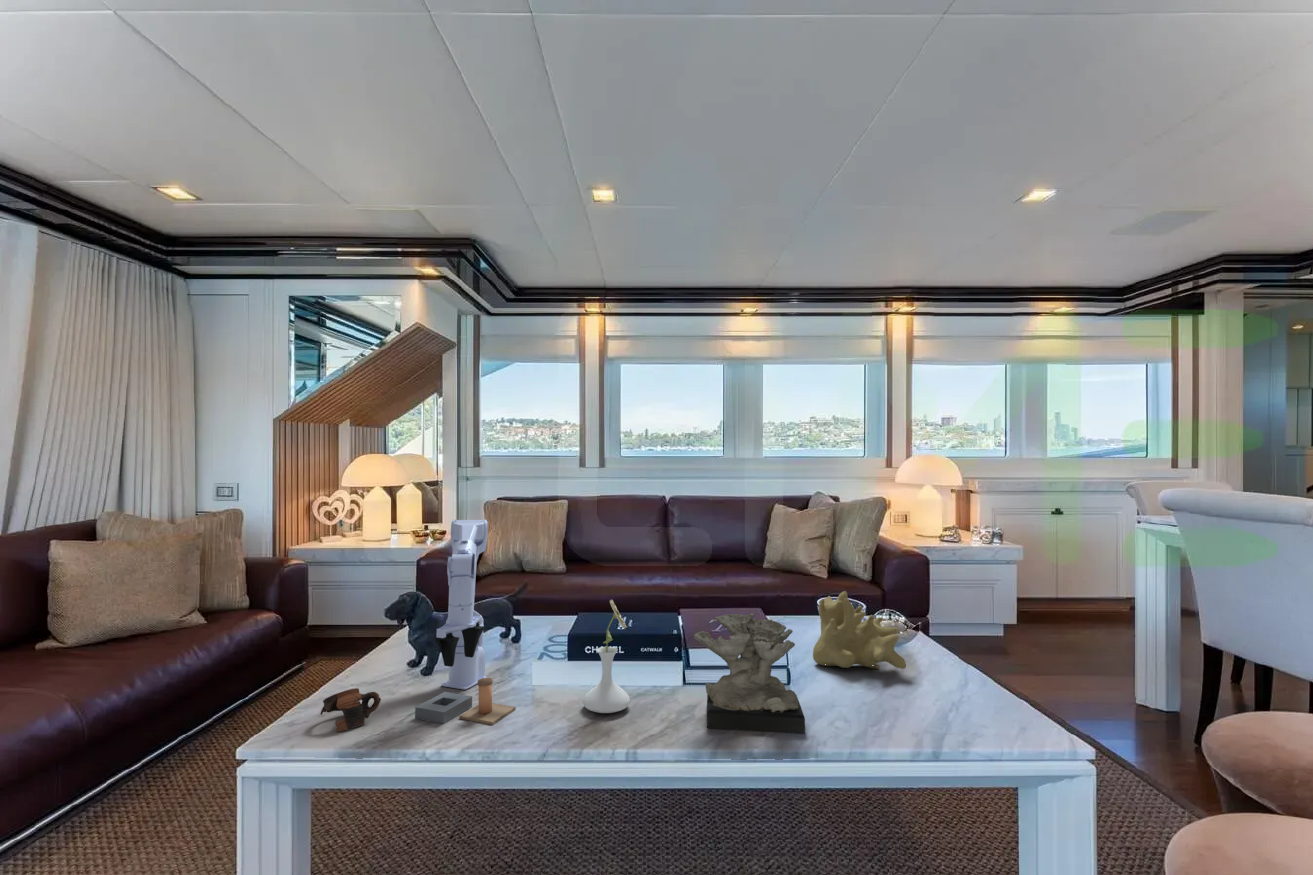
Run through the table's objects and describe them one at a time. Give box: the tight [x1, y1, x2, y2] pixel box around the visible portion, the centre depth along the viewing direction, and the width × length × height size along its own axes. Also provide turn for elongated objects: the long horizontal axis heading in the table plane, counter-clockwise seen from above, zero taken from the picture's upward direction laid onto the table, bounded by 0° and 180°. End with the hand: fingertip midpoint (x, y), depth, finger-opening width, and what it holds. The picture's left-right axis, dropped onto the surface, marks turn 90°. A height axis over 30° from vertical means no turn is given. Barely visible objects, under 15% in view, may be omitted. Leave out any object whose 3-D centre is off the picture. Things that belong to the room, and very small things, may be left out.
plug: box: [477, 677, 494, 714], centre depth 138 cm, size 3×3×7 cm
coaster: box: [458, 702, 517, 725], centre depth 137 cm, size 9×9×1 cm
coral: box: [693, 613, 806, 735], centre depth 141 cm, size 25×20×22 cm
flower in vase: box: [582, 599, 631, 714], centre depth 143 cm, size 13×11×25 cm
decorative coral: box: [812, 590, 907, 670], centre depth 175 cm, size 26×22×25 cm
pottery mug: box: [319, 687, 382, 733], centre depth 133 cm, size 12×10×8 cm
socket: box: [414, 691, 473, 724], centre depth 138 cm, size 10×8×2 cm
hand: (459, 661), depth 143 cm, fingers open, 7 cm apart
